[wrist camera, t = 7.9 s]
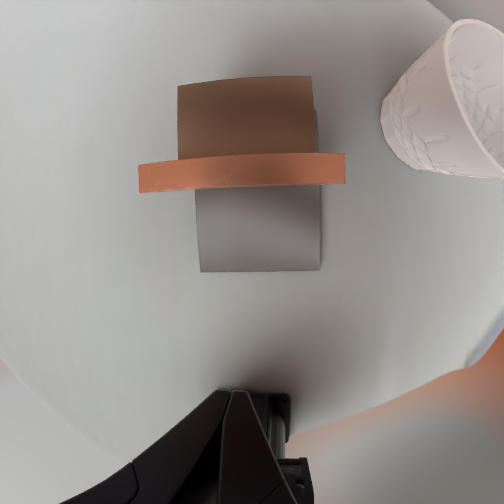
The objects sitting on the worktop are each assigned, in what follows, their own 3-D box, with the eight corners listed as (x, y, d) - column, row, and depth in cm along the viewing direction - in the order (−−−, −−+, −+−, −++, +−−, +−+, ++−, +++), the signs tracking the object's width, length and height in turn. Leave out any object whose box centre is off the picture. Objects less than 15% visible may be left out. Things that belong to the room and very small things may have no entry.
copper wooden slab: (312, 185, 17) (345, 183, 9) (200, 189, 18) (139, 193, 9) (308, 108, 16) (333, 47, 8) (198, 114, 17) (140, 64, 8)
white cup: (378, 62, 16) (439, -9, 6) (463, 102, 15) (547, 72, 6) (362, 159, 18) (440, 138, 8) (453, 193, 17) (549, 206, 8)
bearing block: (318, 267, 19) (337, 305, 13) (202, 269, 20) (170, 306, 14) (314, 112, 17) (332, 77, 11) (195, 118, 18) (157, 89, 11)
